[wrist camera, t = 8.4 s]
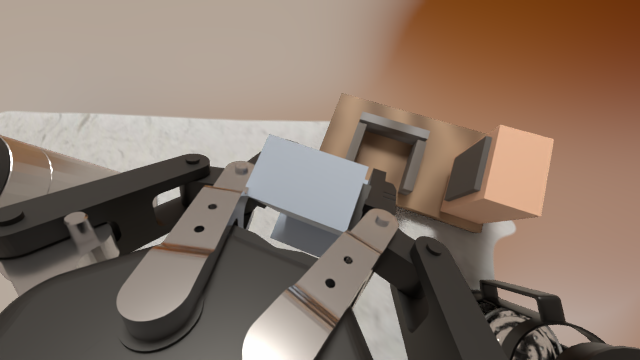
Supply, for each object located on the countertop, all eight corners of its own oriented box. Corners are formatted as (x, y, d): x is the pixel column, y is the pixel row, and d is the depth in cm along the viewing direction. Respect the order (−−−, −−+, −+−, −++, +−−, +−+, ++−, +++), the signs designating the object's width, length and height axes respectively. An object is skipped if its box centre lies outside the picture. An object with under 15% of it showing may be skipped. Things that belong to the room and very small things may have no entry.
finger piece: (275, 237, 18) (208, 234, 9) (305, 164, 19) (275, 92, 10) (339, 263, 17) (342, 290, 8) (366, 185, 18) (396, 128, 9)
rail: (311, 176, 36) (307, 167, 32) (341, 98, 39) (342, 80, 35) (474, 233, 33) (495, 231, 28) (495, 142, 36) (517, 128, 31)
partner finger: (435, 209, 32) (477, 196, 23) (449, 156, 34) (494, 123, 24) (478, 223, 32) (540, 216, 22) (491, 168, 33) (553, 139, 24)
